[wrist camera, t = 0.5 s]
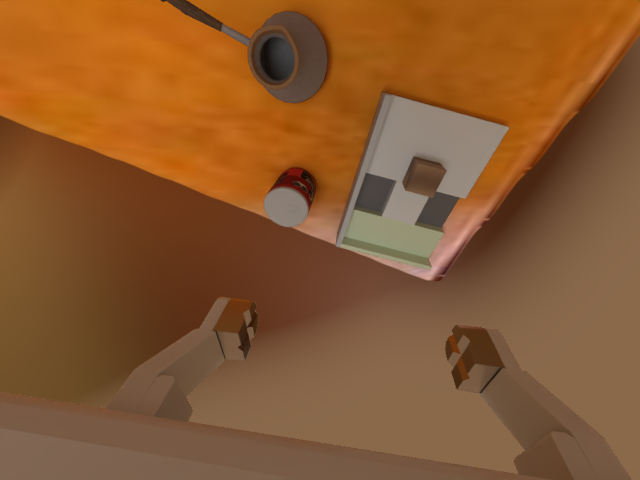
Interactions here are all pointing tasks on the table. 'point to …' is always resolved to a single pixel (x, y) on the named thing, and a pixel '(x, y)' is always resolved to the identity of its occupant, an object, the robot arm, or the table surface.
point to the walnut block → (423, 177)
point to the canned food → (290, 197)
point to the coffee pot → (278, 52)
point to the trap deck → (390, 168)
